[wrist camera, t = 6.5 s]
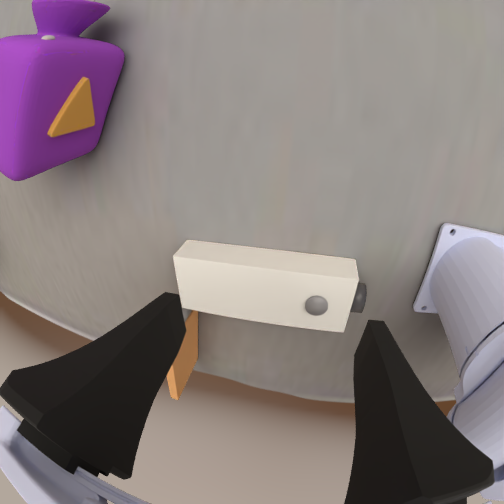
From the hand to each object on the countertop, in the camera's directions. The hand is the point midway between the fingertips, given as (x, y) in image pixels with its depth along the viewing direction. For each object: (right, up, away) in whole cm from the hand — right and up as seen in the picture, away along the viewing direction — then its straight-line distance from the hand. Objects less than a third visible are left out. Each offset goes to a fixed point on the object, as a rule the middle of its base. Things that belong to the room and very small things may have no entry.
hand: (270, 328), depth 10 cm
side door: (-7, -5, +17) cm, 19 cm away
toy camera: (-14, +18, +6) cm, 24 cm away
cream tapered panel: (+1, +1, +12) cm, 12 cm away
